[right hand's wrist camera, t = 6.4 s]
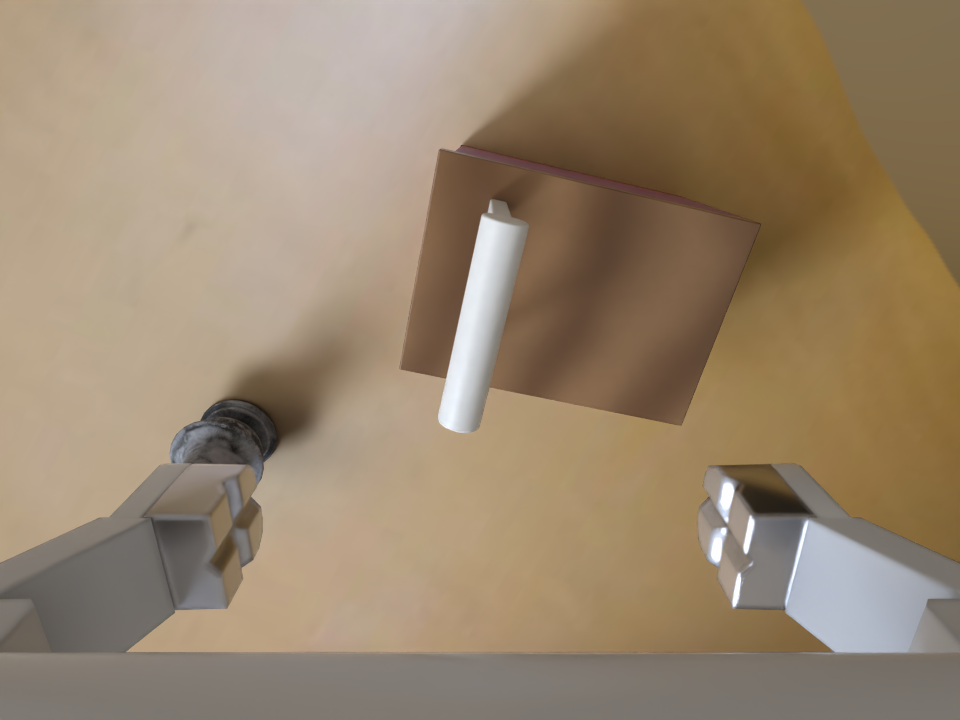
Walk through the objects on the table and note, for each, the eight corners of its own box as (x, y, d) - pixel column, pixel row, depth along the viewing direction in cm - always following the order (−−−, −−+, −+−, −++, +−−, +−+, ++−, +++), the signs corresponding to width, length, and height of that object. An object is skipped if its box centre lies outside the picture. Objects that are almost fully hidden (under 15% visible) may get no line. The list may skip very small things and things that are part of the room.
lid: (402, 360, 28) (371, 449, 20) (440, 147, 24) (421, 156, 16) (674, 415, 29) (744, 519, 21) (750, 220, 25) (868, 259, 17)
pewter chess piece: (209, 382, 38) (98, 486, 27) (292, 417, 39) (218, 530, 28) (185, 450, 40) (73, 573, 29) (265, 482, 41) (186, 612, 30)
